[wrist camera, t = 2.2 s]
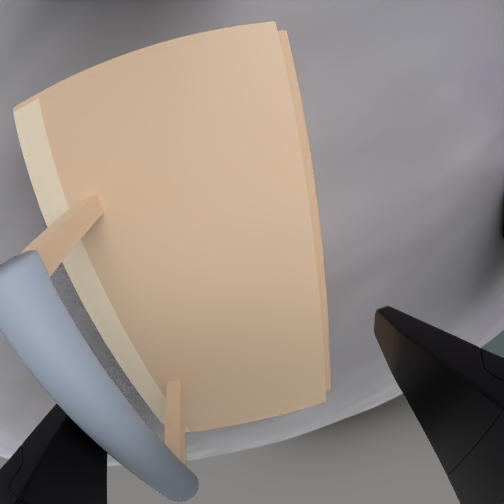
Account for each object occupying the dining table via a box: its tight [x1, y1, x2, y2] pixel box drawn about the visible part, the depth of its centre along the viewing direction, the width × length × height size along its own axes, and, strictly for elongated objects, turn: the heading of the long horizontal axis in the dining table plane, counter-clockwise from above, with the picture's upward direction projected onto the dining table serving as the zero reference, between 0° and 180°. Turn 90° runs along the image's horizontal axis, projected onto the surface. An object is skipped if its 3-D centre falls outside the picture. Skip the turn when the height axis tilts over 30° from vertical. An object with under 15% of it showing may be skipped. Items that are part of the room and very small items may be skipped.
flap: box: [0, 21, 326, 502], centre depth 9 cm, size 9×18×7 cm, turn 11°
